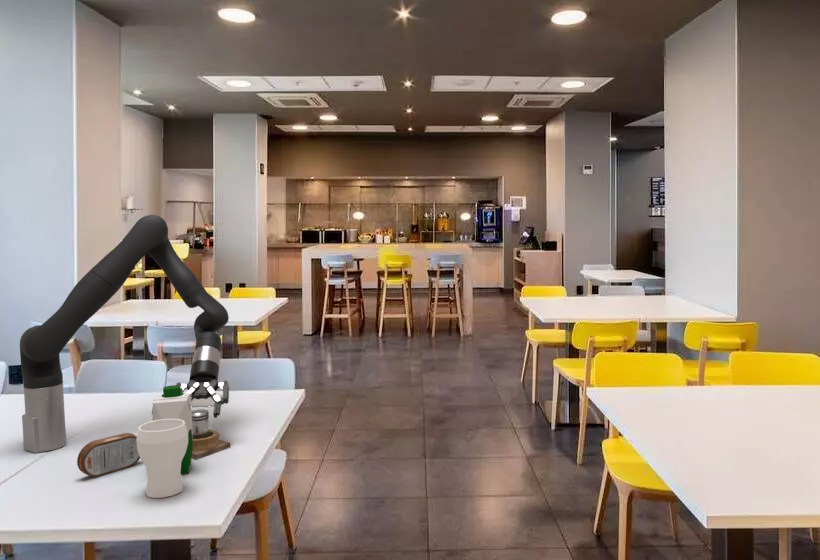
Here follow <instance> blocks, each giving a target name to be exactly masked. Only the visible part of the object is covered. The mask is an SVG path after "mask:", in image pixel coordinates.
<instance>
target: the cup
mask: <svg viewBox="0 0 820 560" xmlns="http://www.w3.org/2000/svg"><path fill="white" fill-rule="evenodd" d="M136 437H137V439H136V440H137V451H138V454H139V456H140V459H139V460H140V461H141V462H142V464H143V466H144V467H145V471H146V474H147V482H146V490H145V495H146V496H147V497H148V498H152V499H161V498H167V497H171V496H174V495H175V496H176V495H177V494H180V493H181V492H182V491H183V490H184V482H183V479H182V474H181V473H180V472H181V461H182V459H183V457H184V455H185V453H186V450H187V446H188V432H187V428H186V425H185V422H184V421H183V420H180V419H161V420H155V421H147V422H144V423H142V424H141V425H140V426H138V430H137V436H136Z"/></svg>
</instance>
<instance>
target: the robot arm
mask: <svg viewBox="0 0 820 560" xmlns="http://www.w3.org/2000/svg"><path fill="white" fill-rule="evenodd" d="M147 254H148V255H149V256H150V257H151V258H152V259H153V261H155V263H156V264H157V265H158V266H159V267H160V269H161V270H162V271H163V273H164V274H165V276H166V277H167V279H168V280H169V282H170V283H171V285H172V287H173V288H174V289H175V292H176V293H177V294H178V295H179V297H180V299H182V301H183V302H184V304H185V305H186V306H187V308H189V309H194V308H197V307H199V308H201V309H202V310H203V311H202V312H201V313H200V314H199V315H198V316H196V318H195V320H194V322H193V330H194V336H195V345H194V346H195V347H194V351H193V356H192V359H191V368H190V372H189V380H188V382H187V383H181V382H176V384H175V385H178V386H181V393H189V394H190V400H191V402H192V401H193V400H194V399H195V398H196V399H202V398H203V399H208V398H209V397H211V399H212V400H213V401H214V402H215V403H214V407H213V413H212V415H213V418H214V419H217V418H218V416H220V415H221V409H222V408H221V407H222V404H223V405H225V404H228V403H229V401H230V400H229V397H230V386H229V381H228V380H227V379H226V380H223V382H218V380H219V372H220V368H221V348H222V339H221V336H220V335H219V334H218V333H217V331H219V330H220V329H221V328H223V327H224V326H226V325H227V323H228V322H229V312H228V310H227V309H226V307H224V305H223V304H221V303H220V302H219V301H218V300H217V299H215V297H213V296H212V295H211V294H210V293H208V292H207V290H206V289H205V287H204V286H203V284H202V282H200V280H199V279H198V277H197V276H196V275H195V274H194V272H193V271H192V270H191V268H190V267H189V266H187V265H186V263H185V262H184V261H183V260H182V259H181V258H180V256H179V255H178V254H177V252H176V251H175V249H174V247H173V245H172V243H171V241H170V238H169V228H168V224H167V222H166V221H165V219H164V218H162V217H161V216H159V215H156V214H147V215H145V216H143V217H141V218H139V219H138V220H137V221H136V223H135V224H134V225H133V226H132V227H131V229H130V230H129V231H128V233H127V234H126V235H125V236H124V238H122V240H121V241H120V242H119V243H118V244H117V245H116V246H115V247H114V248H113V249H112V250H111V251H109V252H108V253H107V254H106V255H104V257H103V258H101V259H100V260H99V261H98V262H97V263H96V264H95V265H94V266H93V267H92V268H91V269H89V270H88V271H87V273H85V275H83V276H82V277H81V279H80V280H79V281H78V282H77V283H76V284H75V286H73V288H72V290H71V291H70V292H69V293H68V295H67V297H66V299H64V302H63V303H62V304H61V306H60V307H59V308H58V309H57V310H56V311H55V312H54V313H53V314H52V315H50V317H49V318H47V320H46V321H44V322H43V323H42V324H41V325H34V326H31V327H29V328H27V329H26V330H25V331H24V332H23V333H22V335H21V337H20V340H19V356H20V366H21V367H20V370H21V376H22V377H21V378H22V382H23V383H22V384H23V394H24V395H23V396H24V397H23V399H24V400H23V401H24V414H22V416H21V421H22V439H23V450H25V451H27V452H30V453H34V454H36V453H43V452H50V451H53V450H57V449H60V448H63V447H65V446H66V445H67V434H66V431H67V430H66V415H65V397H64V378H63V371H62V366H61V360H60V353H61V352H62V351H63V349H64V348H65V347H66V346H67V344H68V343H69V342H70V341H71V339H72V338H73V336H74V335H75V334H76V333H77V332H78V331H79V329H80V328H81V327H82V326H83V325H84V324H85V323H86V322H88V320H90V319H91V318H92V317H93V316H94V315H95V314H96V313H98V312H99V310H100V309H102V307H103V306H105V305H106V304H107V303H108V302H109V301H110V299H112V298H113V296H114V295H115V294H116V293H118V291H119V290H120V289H121V288H122V286H123V285H124V283H125V282H126V281H127V279H128V278H129V277H130V275H131V274H132V272H133V271H134V269H135V268H136V266H137V264H138V263H139V262H140V261H141V260H142V259H143V258H144V257H145V256H146V255H147ZM219 388H220V390H221V391H222V396H223V397H221V398H219V396H218V395H219V394H218V395H217V391H218V389H219ZM185 390H187V391H186V392H185ZM224 403H225V404H224Z"/></svg>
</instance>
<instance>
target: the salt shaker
mask: <svg viewBox="0 0 820 560" xmlns="http://www.w3.org/2000/svg"><path fill="white" fill-rule="evenodd" d="M191 411H192V432H193V439H202V438H207V437H209V429H210V424H209V422H210V421H209V420H210V419H209V418H210V415H209V414H210V412H209V410H208V409H205V408H204V409H203V408H197V409H194V410H191Z"/></svg>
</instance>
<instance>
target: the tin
mask: <svg viewBox="0 0 820 560" xmlns="http://www.w3.org/2000/svg"><path fill="white" fill-rule="evenodd" d="M136 439H137V436H136V435H135V434H133V433H131V432H124V433H119V434H115V435H111V436H108V437H103V438H100V439H95V440H92V441H89V442H88V443H87V444H86V445H84V446H83V447H82V448H81V449H80V451H79V453H78V456H77V459H76V465H77V468H78V470H79V471H80V472H81V473H83V474H84V475H87V476H89V477H92V478H93V477H95V478H97V477H101V476H104V475H105V476H106V475H108V474H112V473H115V472H119V471H122V470H125V469H128V468H131V467H133V466H135V465H136V464H137V463H138V461H140V460H141V459H140V456H139V454H138V451H137V440H136Z"/></svg>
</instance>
